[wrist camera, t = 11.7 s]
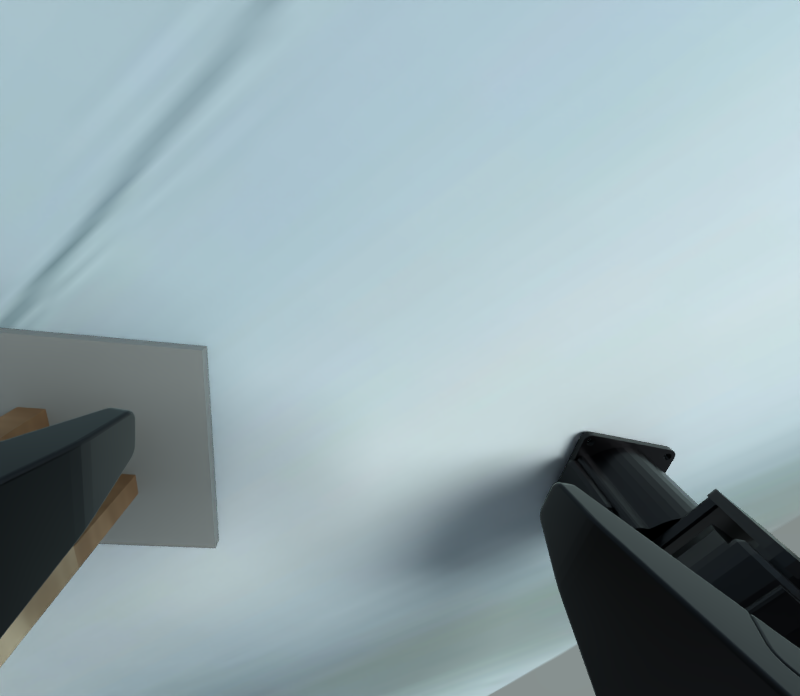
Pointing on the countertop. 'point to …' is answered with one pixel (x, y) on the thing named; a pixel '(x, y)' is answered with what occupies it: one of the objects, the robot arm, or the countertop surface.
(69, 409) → the mat
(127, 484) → the wooden footstool
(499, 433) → the countertop surface
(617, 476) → the robot arm
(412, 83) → the countertop surface
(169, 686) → the countertop surface
